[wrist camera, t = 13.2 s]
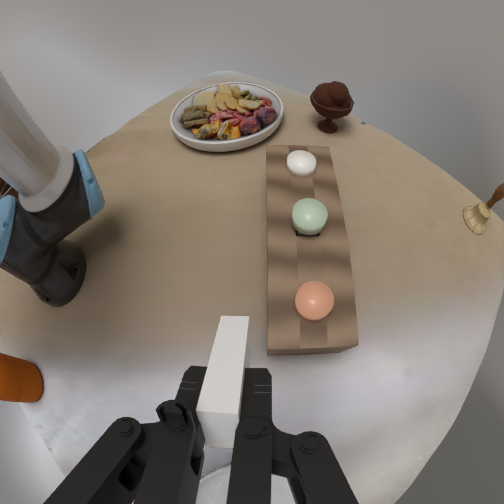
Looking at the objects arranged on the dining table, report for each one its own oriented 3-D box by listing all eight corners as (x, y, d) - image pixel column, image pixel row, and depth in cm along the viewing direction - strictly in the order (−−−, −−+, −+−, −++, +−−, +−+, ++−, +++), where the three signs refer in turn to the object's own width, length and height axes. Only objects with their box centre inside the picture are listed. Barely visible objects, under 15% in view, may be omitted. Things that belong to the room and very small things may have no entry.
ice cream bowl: (349, 122, 67) (359, 78, 53) (342, 145, 62) (354, 96, 49) (313, 111, 69) (318, 67, 56) (303, 133, 65) (307, 84, 51)
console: (339, 352, 42) (358, 345, 33) (267, 355, 42) (267, 349, 33) (321, 179, 57) (328, 146, 48) (266, 179, 58) (266, 145, 49)
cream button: (313, 192, 48) (318, 170, 43) (286, 192, 49) (288, 170, 43) (310, 172, 51) (314, 150, 45) (284, 172, 51) (286, 149, 46)
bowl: (153, 144, 67) (144, 122, 60) (211, 89, 78) (208, 69, 71) (251, 173, 60) (249, 147, 52) (298, 107, 71) (300, 85, 64)
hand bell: (487, 237, 49) (523, 203, 35) (466, 231, 50) (502, 192, 36) (481, 211, 53) (512, 174, 38) (460, 203, 54) (490, 163, 39)
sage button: (322, 247, 42) (329, 227, 36) (290, 247, 42) (293, 227, 37) (319, 220, 44) (325, 198, 39) (288, 220, 44) (291, 197, 39)
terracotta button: (325, 326, 38) (335, 317, 33) (291, 327, 38) (296, 319, 33) (323, 294, 40) (332, 280, 35) (291, 294, 40) (294, 281, 35)
